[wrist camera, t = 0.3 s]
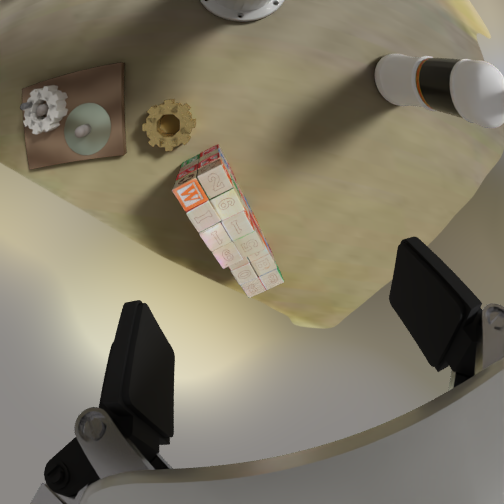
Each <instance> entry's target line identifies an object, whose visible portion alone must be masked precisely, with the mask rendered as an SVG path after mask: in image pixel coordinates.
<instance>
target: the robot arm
mask: <svg viewBox="0 0 504 504" xmlns="http://www.w3.org/2000/svg"><path fill="white" fill-rule="evenodd" d="M200 2H201V3H202V4H203V6H204V7H205V8H206V9H207V10H209V11H210V12H211V13H213V14H214V15H216V16H218V17H221V18H223V19H227V20H231V21H239V22H246V21H254V20H259V19H262V18H265V17H267V16H269V15H270V14H272V13H274V12H275V11H276V10H277V9H278V8H279V7H280V6H281V5H282V3H283V2H284V0H208V1H205V0H200ZM274 3H275V4H276V5H274ZM238 16H241V17H242V18H239V17H238ZM389 300H390V303H391V305H392V307H393V308H394V310H395V311H396V313H397V314H398V316H399V317H400V319H401V320H402V321H403V323H404V325H405V326H406V328H407V329H408V331H409V332H410V334H411V335H412V337H413V338H414V340H415V341H416V343H417V344H418V346H419V348H420V349H421V351H422V352H423V354H424V356H425V357H426V359H427V360H428V362H429V364H430V365H431V366H433V367H435V368H436V370H437V371H438V372H439V371H440V370H442V369H444V368H446V367H448V366H450V367H451V369H452V371H451V378H450V385H449V391H448V392H446V393H444V394H443V395H441V396H439V397H437V398H435V399H434V400H432V401H430V402H428V403H426V404H424V405H422V406H420V407H418V408H416V409H414V410H412V411H410V412H408V413H406V414H404V415H402V416H400V417H397V418H395V419H393V420H391V421H388V422H386V423H384V424H381V425H379V426H377V427H374V428H371V429H369V430H366V431H364V432H361V433H358V434H355V435H353V436H350V437H347V438H344V439H341V440H338V441H335V442H332V443H328V444H325V445H321V446H318V447H314V448H311V449H307V450H303V451H299V452H295V453H291V454H286V455H282V456H277V457H273V458H267V459H262V460H256V461H250V462H244V463H236V464H228V465H219V466H210V467H198V468H185V469H173V468H172V467H171V466H170V465H169V464H168V463H167V462H166V461H165V460H164V459H163V457H162V456H161V455H160V454H159V445H167V444H170V437H173V434H174V424H173V423H174V419H173V418H174V415H173V414H174V409H173V407H174V365H175V364H174V363H175V356H174V352H173V349H172V347H171V345H170V344H169V343H168V341H167V339H166V337H165V335H164V334H163V332H162V330H161V329H160V327H159V325H158V323H157V321H156V320H155V318H154V316H153V314H152V312H151V310H150V309H149V307H148V305H147V304H146V303H142V302H141V301H140V300H137V301H132V302H127V303H125V304H124V305H123V309H122V312H121V316H120V320H119V324H118V328H117V331H116V335H115V340H114V342H113V344H112V346H111V350H110V354H109V358H108V363H107V367H106V372H105V377H104V382H103V387H102V392H101V398H100V404H99V408H97V407H92V408H88V409H86V410H84V411H83V412H82V413H81V414H80V415H79V416H78V418H77V420H76V423H75V435H76V437H75V438H74V439H73V440H72V441H71V442H70V443H69V444H67V445H66V446H65V447H64V448H63V449H62V450H61V451H60V452H58V453H57V454H56V455H55V456H54V457H53V458H52V459H51V460H49V462H48V463H47V464H46V467H45V471H44V476H45V480H46V484H44V483H42V484H41V486H40V487H39V489H38V491H37V493H36V494H35V496H34V498H33V500H32V502H31V504H504V307H503V306H501V305H498V304H488V305H487V306H485V307H484V309H483V310H482V309H481V308H480V307H481V305H482V303H481V302H480V300H479V299H478V298H477V297H476V296H475V295H474V294H473V292H472V291H471V290H470V289H469V288H468V287H467V286H466V285H465V284H464V283H463V282H462V281H461V280H460V278H459V277H457V276H456V274H455V273H454V272H453V271H452V270H451V269H450V268H449V267H448V266H447V265H446V264H445V263H444V262H443V261H442V260H441V259H440V258H439V257H438V256H437V255H436V254H434V253H433V252H432V251H431V250H430V249H429V248H428V247H427V246H426V245H425V244H424V243H423V242H422V241H421V240H420V239H418V238H417V237H411V238H407V239H404V240H402V241H401V244H400V245H399V246H398V250H397V256H396V263H395V269H394V275H393V280H392V285H391V291H390V295H389Z"/></svg>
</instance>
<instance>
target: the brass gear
mask: <svg viewBox="0 0 504 504" xmlns="http://www.w3.org/2000/svg"><path fill="white" fill-rule="evenodd" d="M190 108H191V107H190V106H189V105H188V104H187V103H186V104H184V105H181V104H180V103H175V99H169V100H164V104H160V105H158V106H156V105H155V106H152V107H151V108H150V109H149V110H148V111H147V112H148V113H149V114H150V115H149V116H148V117H147V118H146V122H145V123H143V124H142V131H147V137H149V138H150V139H151V140H150V141H149V142H148V143H149V144H150V145H151V146H152V147H154V146H155V144H156V145H158V146H159V147H165V151H172V150H173V149H174V147H175V146H178V145H179V144H180V143H182V144H183V145H185V144H186V143H187V142H188V141H189V140H190V138H191V136H190V135H189V134H190V133H191V131H192V128H195V126H196V119H192V114H191V113H190V112H189V111H188V110H189V109H190ZM165 114H174V115H175V116H176V117H177V118H178V119H179V120H180V130H179V131H178V132H177V133H175V134H166V133H165V132H164V131H163V130H162V129H161V128H160V119H161V118H162V117H163V116H164V115H165Z"/></svg>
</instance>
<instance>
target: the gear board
mask: <svg viewBox="0 0 504 504" xmlns="http://www.w3.org/2000/svg"><path fill="white" fill-rule="evenodd" d="M124 68H125V63H122V62H120V63H115V64H109V65H104V66H99V67H94V68H90V69H85V70H81V71H77V72H73V73H69V74H66V75H62V76H59V77H55V78H52V79H49V80H46V81H43V82H40V83H37V84H34V85H31V86H28V87H26V88H23V89H22V103H26V102H27V100H28V99H29V98H30V97H31V95H30V93H31V92H32V91H33V90H34V89H40V88H43V87H44V86H50V85H55V86H58V89H57V90H60V91H61V92H62V93H64V92H66V94H67V97H68V98H67V99H65V101H66V107H65V108H66V109H68V112H67V115H66V116H63V118H62V120H61V121H59V124H60V126H58V127H57V128H56V129H53V130H50V131H48V132H46V131H44V132H42V133H39V134H33V133H32V132H33V129H29V126H26V127H25V125H24V133H25V142H26V150H27V157H28V164H29V170H30V169H35V168H40V167H45V166H50V165H56V164H61V163H67V162H74V161H80V160H87V159H94V158H102V157H110V156H120V155H125V154H126V153H127V152H126V136H125V112H124ZM48 109H49V107H48V105H47V102H46V101H44V102H43V104H41V105H39V106H38V107H37V109H36V113H37V114H38V115H39V116H42V115H43V116H44V117H45V118H46V117H47V113H48ZM24 113H25V111H24V110H23V121H24V120H25V117H24Z"/></svg>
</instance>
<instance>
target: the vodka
mask: <svg viewBox="0 0 504 504" xmlns="http://www.w3.org/2000/svg"><path fill="white" fill-rule="evenodd" d="M375 83H376V86H377V88H378V90H379V92H380V93H381V95H382V96H383V97H384V98H385V99H386V100H387V101H389V102H390V103H392V104H395V105H399V106H409V105H410V106H419V107H424V108H426V109H428V110H431V111H440V112H444V113H447V114H451V115H454V116H457V117H461V118H464V119H465V120H467V121H468V122H471V123H476V124H478V125H480V126H482V127H485V128H496V127H499V126H500V125H502V124H503V123H504V77H503V75H502V74H501V72H500V71H499V70H498V69H497V68H496V67H495V66H493V65H492V64H490V63H488V62H485V61H482V60H470V59H462V60H459V59H447V58H433V57H431V56H423V57H411V56H405V55H402V54H388V55H386V56H384V57H382V58H381V59H380V61H379V62H378V63H377V65H376V68H375Z"/></svg>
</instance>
